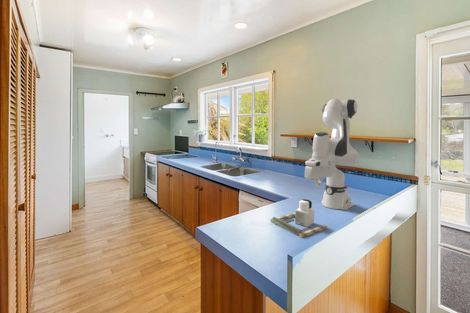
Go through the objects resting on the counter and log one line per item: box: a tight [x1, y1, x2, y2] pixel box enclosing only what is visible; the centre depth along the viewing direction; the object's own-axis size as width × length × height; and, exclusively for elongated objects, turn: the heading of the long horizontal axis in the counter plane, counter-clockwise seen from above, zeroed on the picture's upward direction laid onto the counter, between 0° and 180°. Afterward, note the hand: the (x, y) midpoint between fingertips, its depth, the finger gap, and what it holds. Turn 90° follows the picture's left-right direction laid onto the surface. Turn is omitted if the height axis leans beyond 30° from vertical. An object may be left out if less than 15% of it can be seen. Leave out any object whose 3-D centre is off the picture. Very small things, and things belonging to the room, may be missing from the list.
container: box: [294, 198, 315, 228], centre depth 134 cm, size 8×8×13 cm
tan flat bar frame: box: [270, 211, 328, 238], centre depth 132 cm, size 20×22×3 cm
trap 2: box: [301, 226, 314, 233], centre depth 125 cm, size 10×3×1 cm, turn 124°
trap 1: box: [282, 217, 295, 223], centre depth 136 cm, size 10×3×1 cm, turn 124°
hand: (318, 186), depth 137 cm, fingers closed
